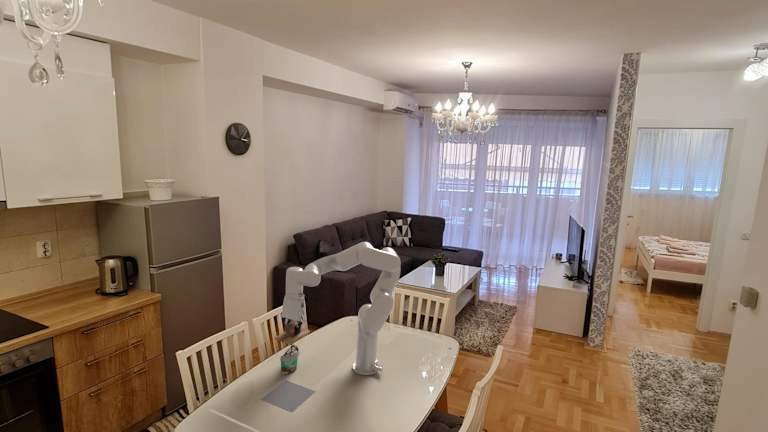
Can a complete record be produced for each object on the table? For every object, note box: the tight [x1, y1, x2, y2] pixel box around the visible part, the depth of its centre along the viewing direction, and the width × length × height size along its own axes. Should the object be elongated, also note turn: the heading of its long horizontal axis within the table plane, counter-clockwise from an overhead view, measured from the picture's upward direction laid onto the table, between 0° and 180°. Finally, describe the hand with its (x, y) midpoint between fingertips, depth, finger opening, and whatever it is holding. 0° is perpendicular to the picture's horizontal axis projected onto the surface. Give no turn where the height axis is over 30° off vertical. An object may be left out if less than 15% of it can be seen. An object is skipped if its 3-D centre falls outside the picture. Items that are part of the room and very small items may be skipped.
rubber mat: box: [260, 379, 317, 413], centre depth 169 cm, size 16×16×1 cm
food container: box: [279, 343, 301, 375], centre depth 187 cm, size 12×6×10 cm, turn 168°
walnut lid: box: [274, 320, 311, 346], centre depth 184 cm, size 9×14×6 cm, turn 155°
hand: (292, 332), depth 185 cm, fingers closed on walnut lid, 4 cm apart
